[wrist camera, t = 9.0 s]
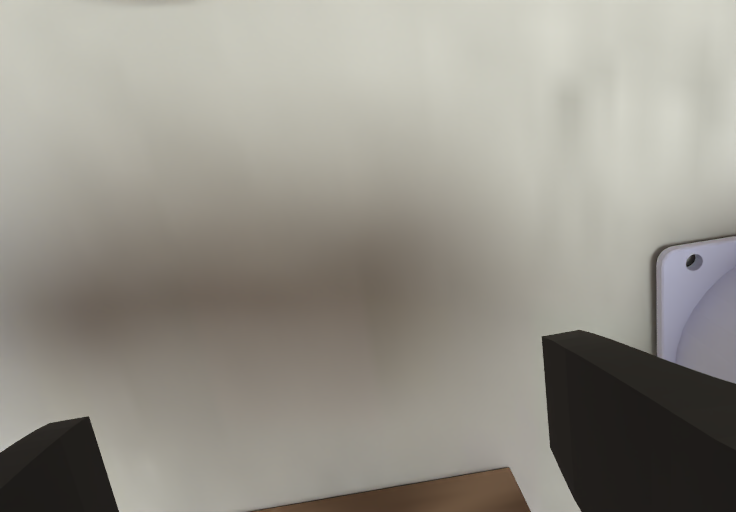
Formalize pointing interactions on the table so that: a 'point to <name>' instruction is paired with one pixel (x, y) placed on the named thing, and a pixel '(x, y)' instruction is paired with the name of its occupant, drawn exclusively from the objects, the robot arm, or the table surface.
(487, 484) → the dock plate
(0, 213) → the table surface
